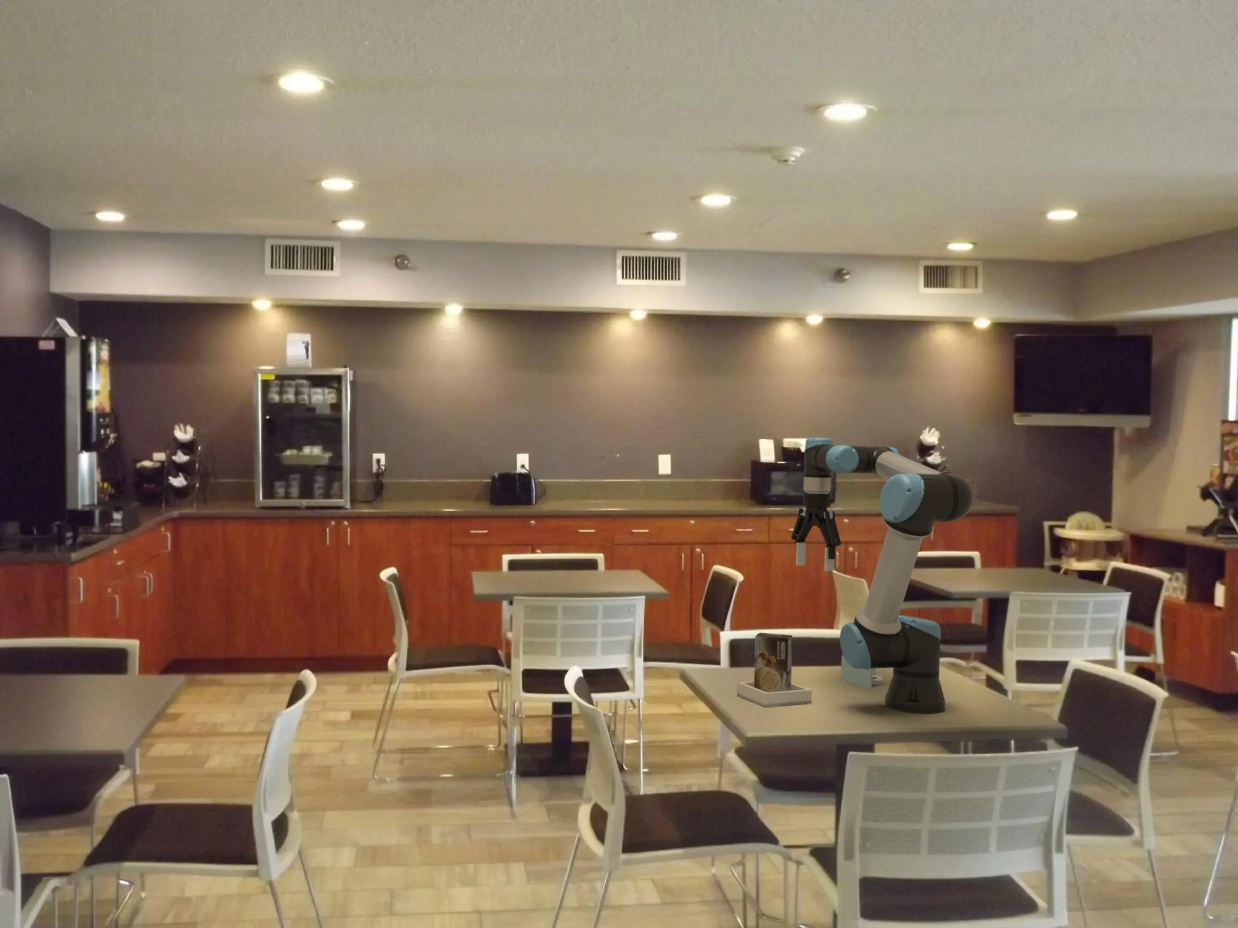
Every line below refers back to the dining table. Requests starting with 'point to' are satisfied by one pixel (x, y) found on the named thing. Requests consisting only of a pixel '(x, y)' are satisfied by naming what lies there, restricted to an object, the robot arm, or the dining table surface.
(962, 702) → the dining table surface
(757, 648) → the coffee box
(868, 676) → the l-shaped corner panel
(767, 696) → the white square tray
